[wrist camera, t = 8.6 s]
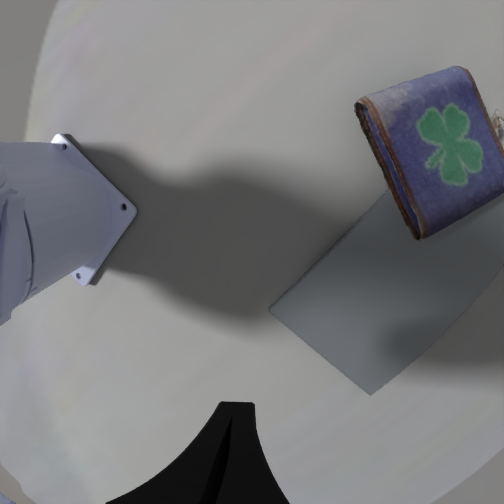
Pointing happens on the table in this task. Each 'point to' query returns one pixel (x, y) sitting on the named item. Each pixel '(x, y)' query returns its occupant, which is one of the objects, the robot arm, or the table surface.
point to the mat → (391, 290)
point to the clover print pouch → (435, 148)
